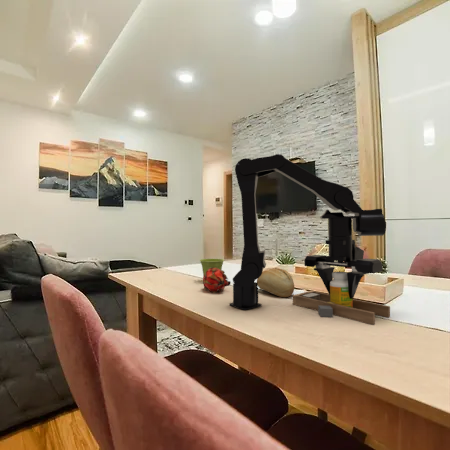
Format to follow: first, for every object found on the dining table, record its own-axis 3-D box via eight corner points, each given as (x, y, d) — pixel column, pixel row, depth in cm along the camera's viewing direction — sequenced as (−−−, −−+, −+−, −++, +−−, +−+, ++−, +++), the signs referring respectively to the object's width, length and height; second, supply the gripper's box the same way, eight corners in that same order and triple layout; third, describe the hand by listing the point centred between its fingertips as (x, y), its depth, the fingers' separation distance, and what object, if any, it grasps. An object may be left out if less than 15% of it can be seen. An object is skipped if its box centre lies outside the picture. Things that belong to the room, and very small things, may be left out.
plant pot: (202, 279, 120) (202, 258, 120) (225, 280, 119) (225, 258, 119) (197, 284, 111) (197, 261, 111) (222, 284, 110) (222, 261, 110)
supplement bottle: (342, 314, 73) (341, 274, 73) (326, 309, 78) (324, 272, 78) (357, 311, 75) (356, 272, 75) (340, 306, 80) (339, 270, 80)
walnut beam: (372, 324, 66) (372, 312, 66) (292, 304, 83) (292, 294, 83) (390, 316, 71) (390, 305, 71) (311, 298, 88) (311, 289, 88)
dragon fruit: (211, 291, 106) (223, 304, 95) (193, 279, 103) (203, 291, 92) (225, 271, 107) (238, 282, 96) (207, 259, 104) (219, 268, 93)
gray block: (332, 317, 71) (332, 308, 71) (320, 316, 71) (320, 308, 71) (329, 313, 74) (329, 305, 74) (318, 313, 74) (318, 305, 74)
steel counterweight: (309, 305, 81) (309, 297, 81) (301, 304, 83) (301, 295, 83) (319, 302, 84) (319, 294, 84) (312, 301, 86) (312, 292, 86)
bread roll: (272, 287, 105) (272, 265, 105) (303, 296, 92) (302, 270, 92) (249, 290, 100) (249, 267, 100) (279, 300, 87) (279, 273, 87)
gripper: (391, 235, 74) (392, 297, 74) (325, 234, 89) (326, 286, 89) (370, 237, 67) (372, 306, 67) (302, 236, 82) (303, 292, 82)
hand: (341, 296), depth 76 cm, fingers closed on supplement bottle, 5 cm apart
